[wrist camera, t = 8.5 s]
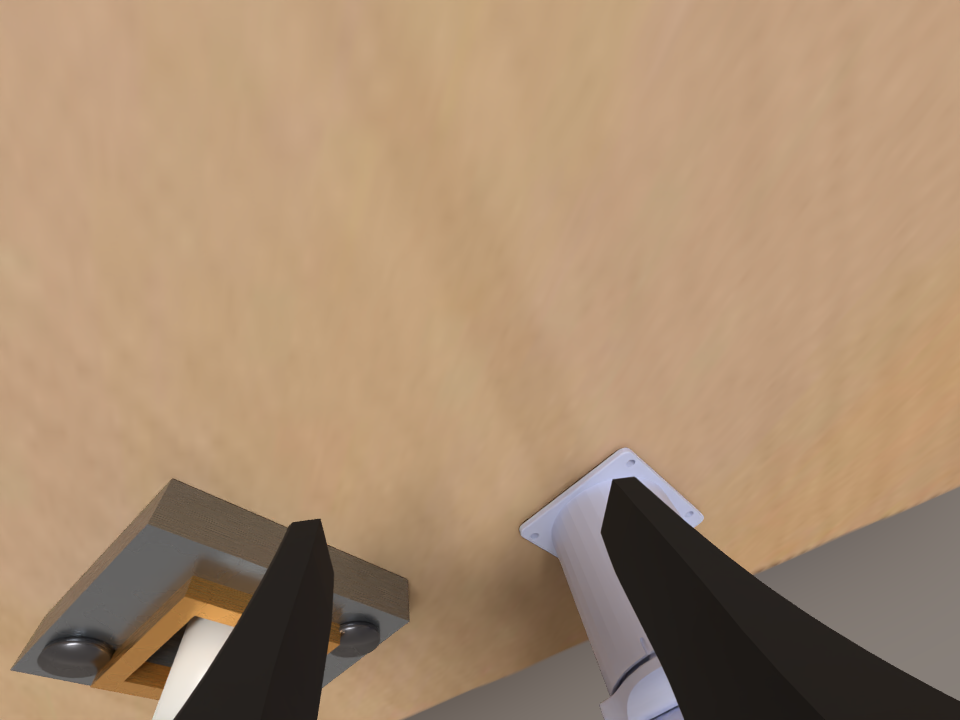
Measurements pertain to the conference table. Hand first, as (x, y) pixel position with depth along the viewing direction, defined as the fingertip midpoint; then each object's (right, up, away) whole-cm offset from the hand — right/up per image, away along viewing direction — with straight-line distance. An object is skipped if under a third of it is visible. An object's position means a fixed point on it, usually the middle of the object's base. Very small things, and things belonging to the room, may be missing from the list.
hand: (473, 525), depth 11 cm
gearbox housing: (-13, -9, +14) cm, 21 cm away
